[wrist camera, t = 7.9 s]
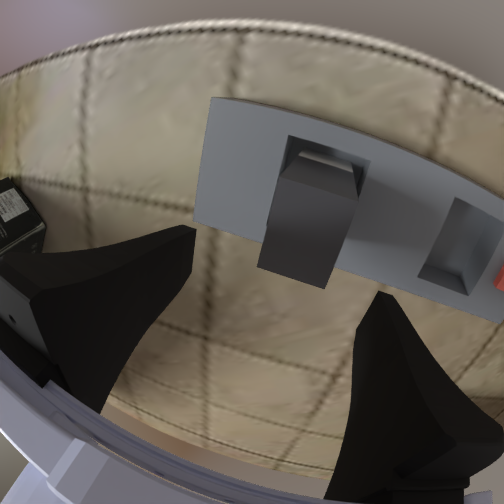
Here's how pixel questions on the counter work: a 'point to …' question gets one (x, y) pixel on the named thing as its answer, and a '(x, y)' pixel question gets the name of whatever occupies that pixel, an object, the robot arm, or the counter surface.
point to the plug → (309, 218)
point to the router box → (18, 222)
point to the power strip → (361, 203)
